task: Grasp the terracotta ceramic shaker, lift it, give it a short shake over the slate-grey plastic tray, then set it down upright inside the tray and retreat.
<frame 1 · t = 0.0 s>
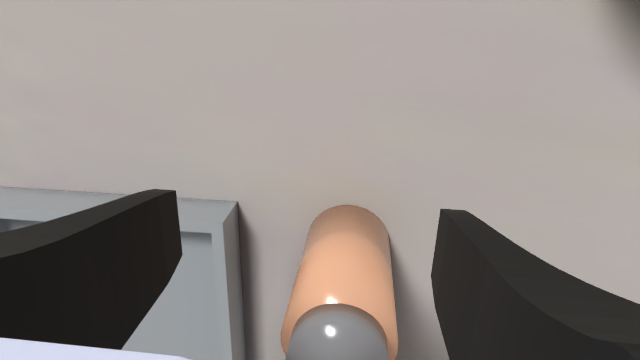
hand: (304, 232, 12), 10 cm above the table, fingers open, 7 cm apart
shaker: (347, 242, 23), on the table
tray: (137, 338, 27), on the table
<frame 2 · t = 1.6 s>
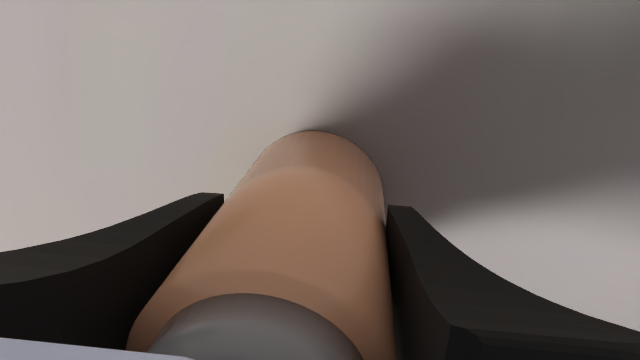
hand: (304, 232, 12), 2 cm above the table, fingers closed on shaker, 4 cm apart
shaker: (314, 196, 14), on the table, touching gripper
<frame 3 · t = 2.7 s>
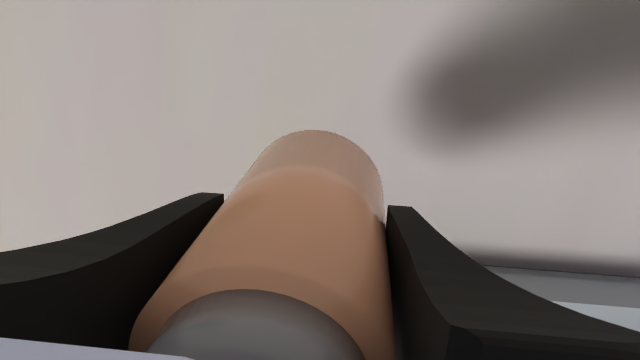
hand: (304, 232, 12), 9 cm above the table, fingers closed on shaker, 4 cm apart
shaker: (314, 195, 14), point 6 cm above the table, touching gripper
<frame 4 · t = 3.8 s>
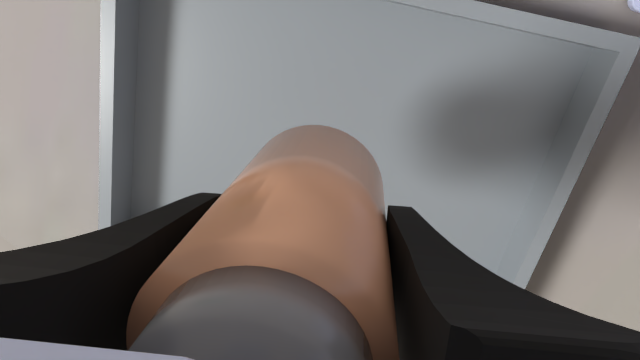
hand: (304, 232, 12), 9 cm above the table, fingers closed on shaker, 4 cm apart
shaker: (314, 191, 14), point 7 cm above the table, touching gripper
tray: (332, 140, 20), on the table
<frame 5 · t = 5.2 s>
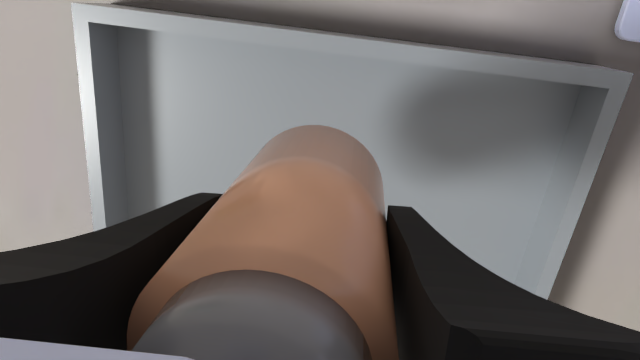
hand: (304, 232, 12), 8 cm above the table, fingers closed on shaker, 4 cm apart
shaker: (315, 191, 14), point 6 cm above the table, touching gripper
tray: (325, 190, 20), on the table
when the fingers open (5 cm above the table, at t = 6.3 s): shaker drops 2 cm, resting on tray.
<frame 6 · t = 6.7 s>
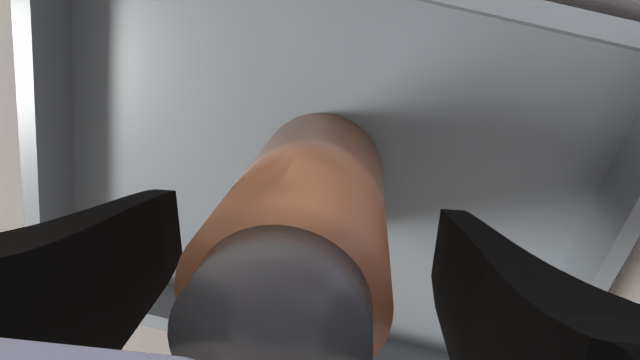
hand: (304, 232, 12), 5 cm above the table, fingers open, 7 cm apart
shaker: (321, 172, 16), point 1 cm above the table, touching tray
tray: (322, 170, 16), on the table
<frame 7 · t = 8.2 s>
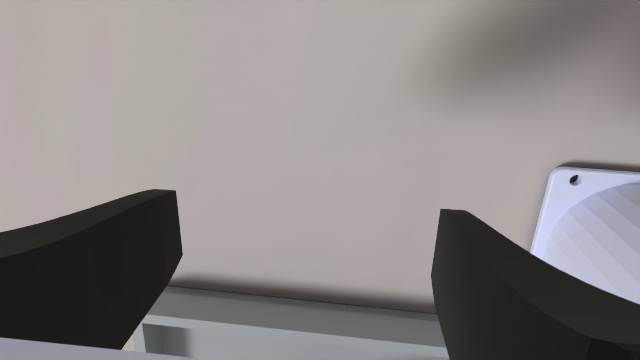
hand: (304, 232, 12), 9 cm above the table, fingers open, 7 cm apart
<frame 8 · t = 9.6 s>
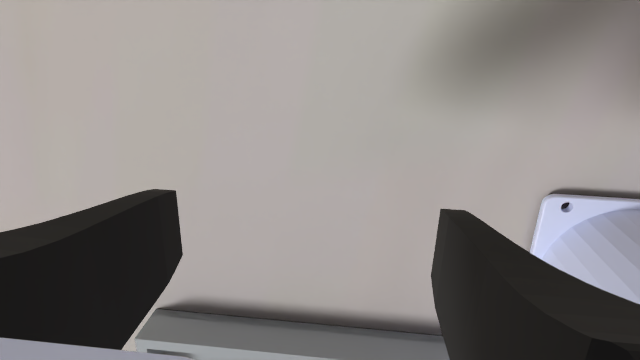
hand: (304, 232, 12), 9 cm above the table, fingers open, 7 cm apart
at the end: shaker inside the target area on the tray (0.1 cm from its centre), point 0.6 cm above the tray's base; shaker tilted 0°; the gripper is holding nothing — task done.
